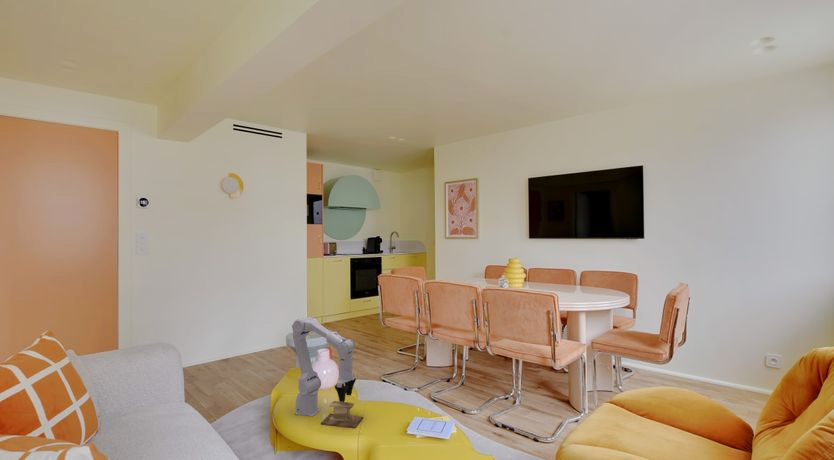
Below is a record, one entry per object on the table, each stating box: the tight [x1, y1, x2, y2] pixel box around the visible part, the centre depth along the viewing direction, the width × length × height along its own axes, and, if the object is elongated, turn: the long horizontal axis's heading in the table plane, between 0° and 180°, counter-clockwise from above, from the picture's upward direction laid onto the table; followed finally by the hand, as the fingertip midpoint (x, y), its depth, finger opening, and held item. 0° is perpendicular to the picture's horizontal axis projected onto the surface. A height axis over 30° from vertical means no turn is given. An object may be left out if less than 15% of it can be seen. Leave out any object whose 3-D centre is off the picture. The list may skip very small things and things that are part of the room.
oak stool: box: [329, 400, 355, 423], centre depth 177 cm, size 4×10×7 cm, turn 77°
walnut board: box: [320, 413, 364, 429], centre depth 176 cm, size 16×10×1 cm, turn 78°
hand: (345, 398), depth 179 cm, fingers open, 7 cm apart
